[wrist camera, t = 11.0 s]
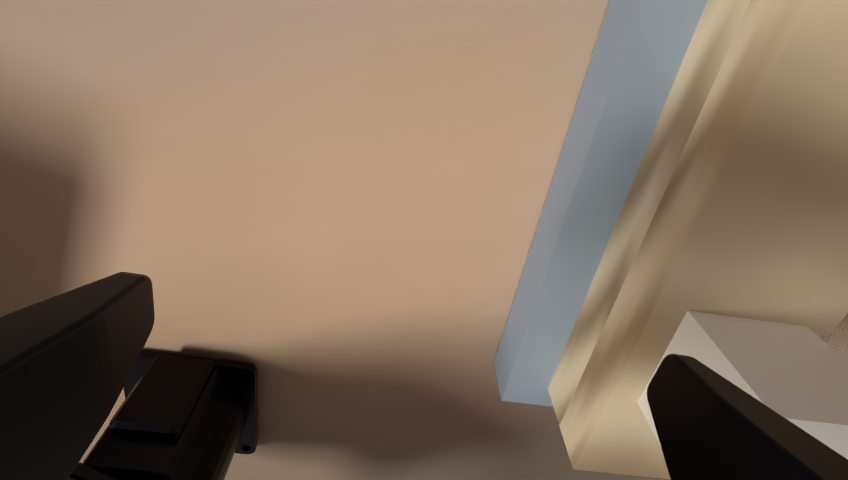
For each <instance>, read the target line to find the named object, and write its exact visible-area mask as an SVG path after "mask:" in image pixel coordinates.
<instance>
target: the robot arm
mask: <svg viewBox="0 0 848 480" xmlns="http://www.w3.org/2000/svg"><path fill="white" fill-rule="evenodd" d="M153 324H154V303H153V289H152V282H151V279H150V278H149V277H148V276H146V275H141V274H135V273H128V272H120V273H117V274H114V275H111V276H109V277H106V278H103V279H100V280H98V281H95V282H92V283H90V284H87V285H84V286H82V287H79V288H76V289H74V290H71V291H68V292H66V293H63V294H60V295H58V296H55V297H52V298H50V299H47V300H44V301H42V302H39V303H36V304H34V305H31V306H28V307H26V308H23V309H20V310H18V311H15V312H12V313H10V314H7V315H4V316H1V317H0V480H224V478H225V476H226V473H227V471H228V468H229V465H230V463H231V460H232V458H233V455H234V453H240V454H251V453H253V452H255V449H256V446H257V443H258V371H257V368H256V367H255V366H254V365H253V364H250V363H245V362H237V361H228V360H219V359H210V358H202V357H193V356H184V355H175V354H167V353H158V352H149V351H142V349H143V347H144V345H145V343H146V341H147V339H148V337H149V335H150V333H151V331H152V328H153ZM244 372H246V373H248V374H246V373H244ZM123 387H124V392H125V398H126V399H125V401H124V402H123V404H122V405H121V406H120V408H119V409H118V411H117V412H116V414H115V415H114V416H113V418H112V419H111V421H110V423H109V425H108V427H107V428H106V430H105V431H104V433H103V434H102V436H101V437H100V438H99V440H98V441H97V443H96V444H95V446H94V447H93V449H92V450H91V451H90V453H89V454H88V456H87V457H86V459H85V460H84V462H83V463H80V462H79V461H80V459H81V458H82V456H83V455H84V453H85V452H86V450H87V449H88V447H89V446H90V444H91V442H92V441H93V439H94V438H95V436H96V435H97V433H98V432H99V430H100V429H101V427H102V425H103V424H104V422H105V420H106V419H107V417H108V416H109V414H110V412H111V410H112V408H113V406H114V404H115V403H116V401H117V399H118V397H119V395H120V393H121V391H122V389H123ZM647 400H648V403H649V407H650V410H651V414H652V417H653V421H654V424H655V428H656V431H657V435H658V438H659V442H660V445H661V449H662V452H663V456H664V459H665V462H666V466H667V469H668V472H669V475H670V479H671V480H848V459H846V458H845V457H843V456H842V455H840V454H839V453H837V452H836V451H834V450H833V449H831V448H830V447H828V446H827V445H825V444H824V443H822V442H821V441H819V440H818V439H816V438H814V437H813V436H811V435H810V434H808V433H807V432H805V431H804V430H802V429H801V428H799V427H798V426H796V425H795V424H793V423H792V422H790V421H789V420H787V419H786V418H784V417H783V416H781V415H780V414H778V413H777V412H775V411H774V410H772V409H771V408H769V407H768V406H766V405H765V404H763V403H762V402H760V401H759V400H757V399H756V398H754V397H753V396H751V395H750V394H748V393H747V392H745V391H744V390H742V389H740V388H739V387H737V386H736V385H734V384H733V383H731V382H730V381H728V380H727V379H725V378H724V377H722V376H721V375H719V374H718V373H716V372H715V371H713V370H712V369H710V368H709V367H707V366H706V365H704V364H703V363H701V362H700V361H698V360H697V359H695V358H693V357H691V356H686V355H679V354H668V355H667V356H666V357H664V359H663V360H662V362H661V364H660V366H659V367H658V369H657V371H656V373H655V374H654V376H653V378H652V380H651V381H650V383H649V385H648V388H647Z"/></svg>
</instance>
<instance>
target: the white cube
mask: <svg viewBox="0 0 848 480" xmlns="http://www.w3.org/2000/svg"><path fill="white" fill-rule="evenodd" d="M668 354H679V355H686V356H691V357H693V358H695V359H697V360H698V361H700V362H701V363H703V364H704V365H706V366H707V367H709V368H710V369H712V370H713V371H715V372H716V373H718V374H719V375H721V376H722V377H724V378H725V379H727V380H728V381H730V382H731V383H733V384H734V385H736V386H737V387H739V388H740V389H742V390H744V391H745V392H747V393H748V394H750V395H751V396H753V397H754V398H756V399H757V400H759V401H760V402H762V403H763V404H765V405H766V406H768V407H769V408H771V409H772V410H774V411H775V412H777V413H778V414H780V415H781V416H783V417H784V418H786V419H787V420H789V421H790V422H792V423H793V424H795V425H796V426H798V427H799V428H801V429H802V430H804V431H805V432H807V433H808V434H810V435H811V436H813V437H814V438H816V439H818V440H819V441H821V442H822V443H824V444H825V445H827V446H828V447H830V448H831V449H833V450H834V451H836V452H837V453H839V454H840V455H842V456H843V457H845V458H846V459H848V362H847V361H845V360H844V359H843V358H842V357H841V356H840V355H839V354H838V353H836V352H835V351H834V350H833V349H832V348H831V347H830V346H829V345H827V344H826V343H825V342H824V341H823V340H822V339H821V338H820V337H819V336H817V335H816V334H815V333H814V332H813V331H812V330H811V329H810V328H808V327H807V326H800V325H792V324H785V323H778V322H770V321H763V320H755V319H748V318H740V317H733V316H725V315H718V314H710V313H703V312H696V311H687V312H686V314H685V316H684V318H683V320H682V322H681V323H680V325H679V327H678V329H677V331H676V333H675V334H674V336H673V338H672V340H671V342H670V344H669V346H668V347H667V349H666V351H665V353H664V355H663V357H662V358H661V360H660V362H659V364H658V366H657V368H656V369H655V371H654V373H653V375H652V377H651V379H650V380H649V382H648V384H647V386H646V388H645V390H644V391H643V393H642V395H641V397H640V399H639V401H638V404H639V406H640V408H641V410H642V412H643V414H644V416H645V417H646V419H647V421H648V423H649V425H650V427H651V429H652V431H653V433H654V435H655V437H656V439H657V441H658V442H659V438H658V435H657V431H656V428H655V424H654V421H653V417H652V414H651V410H650V407H649V403H648V400H647V388H648V385H649V383H650V381H651V380H652V378H653V376H654V374H655V373H656V371H657V369H658V367H659V366H660V364H661V362H662V360H663V359H664V357H666V356H667V355H668ZM659 444H660V442H659ZM660 446H661V445H660Z"/></svg>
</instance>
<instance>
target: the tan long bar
mask: <svg viewBox="0 0 848 480" xmlns="http://www.w3.org/2000/svg"><path fill="white" fill-rule="evenodd" d="M687 311H696V312H703V313H710V314H718V315H725V316H733V317H740V318H748V319H755V320H763V321H770V322H778V323H785V324H792V325H800V326H807V327H808V328H810V329H811V330H812V331H813V332H814V333H815V334H816V335H817V336H819V337H820V338H821V339H822V340H823V341H824V342H825V343H826V341H827V340H828V339H829V337H830V336H831V335H832V333H833V332H834V331H835V329H836V328H837V327H838V325H839V324H840V323H841V322H842V320H843V319H844V318H845V316H846V315H847V314H848V0H707V3H706V5H705V8H704V10H703V13H702V15H701V17H700V20H699V22H698V25H697V27H696V30H695V32H694V34H693V37H692V39H691V42H690V44H689V47H688V49H687V52H686V54H685V56H684V59H683V61H682V64H681V66H680V69H679V71H678V73H677V76H676V78H675V81H674V83H673V86H672V88H671V91H670V93H669V95H668V98H667V100H666V103H665V105H664V108H663V110H662V112H661V115H660V117H659V120H658V122H657V125H656V127H655V130H654V132H653V134H652V137H651V139H650V142H649V144H648V147H647V149H646V151H645V154H644V156H643V159H642V161H641V164H640V166H639V169H638V171H637V173H636V176H635V178H634V181H633V183H632V186H631V188H630V190H629V193H628V195H627V198H626V200H625V203H624V205H623V208H622V210H621V212H620V215H619V217H618V220H617V222H616V225H615V227H614V229H613V232H612V234H611V237H610V239H609V242H608V244H607V247H606V249H605V251H604V254H603V256H602V259H601V261H600V264H599V266H598V268H597V271H596V273H595V276H594V278H593V281H592V283H591V286H590V288H589V290H588V293H587V295H586V298H585V300H584V303H583V305H582V307H581V310H580V312H579V315H578V317H577V320H576V322H575V325H574V327H573V329H572V332H571V334H570V337H569V339H568V342H567V344H566V346H565V349H564V351H563V354H562V356H561V359H560V361H559V364H558V366H557V368H556V371H555V373H554V376H553V378H552V381H551V383H550V385H549V388H548V392H549V395H550V398H551V401H552V404H553V408H554V411H555V414H556V417H557V420H558V423H559V426H560V430H561V433H562V436H563V439H564V442H565V445H566V448H567V452H568V455H569V458H570V461H571V464H572V467H573V469H574V470H584V471H594V472H604V473H614V474H624V475H633V476H643V477H653V478H663V479H670V475H669V472H668V469H667V466H666V462H665V459H664V456H663V452H662V449H661V446H660V444H659V442H658V441H657V439H656V437H655V435H654V433H653V431H652V429H651V427H650V425H649V423H648V421H647V419H646V417H645V416H644V414H643V412H642V410H641V408H640V406H639V404H638V401H639V399H640V397H641V395H642V393H643V391H644V390H645V388H646V386H647V384H648V382H649V380H650V379H651V377H652V375H653V373H654V371H655V369H656V368H657V366H658V364H659V362H660V360H661V358H662V357H663V355H664V353H665V351H666V349H667V347H668V346H669V344H670V342H671V340H672V338H673V336H674V334H675V333H676V331H677V329H678V327H679V325H680V323H681V322H682V320H683V318H684V316H685V314H686V312H687Z"/></svg>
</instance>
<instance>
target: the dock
mask: <svg viewBox="0 0 848 480" xmlns="http://www.w3.org/2000/svg"><path fill="white" fill-rule="evenodd" d="M706 3H707V0H610V1H609V4H608V7H607V11H606V14H605V17H604V20H603V23H602V26H601V29H600V32H599V35H598V39H597V42H596V45H595V48H594V51H593V54H592V57H591V60H590V64H589V67H588V70H587V73H586V76H585V79H584V82H583V85H582V88H581V92H580V95H579V98H578V101H577V104H576V107H575V110H574V113H573V117H572V120H571V123H570V126H569V129H568V132H567V135H566V138H565V141H564V145H563V148H562V151H561V154H560V157H559V160H558V163H557V166H556V170H555V173H554V176H553V179H552V182H551V185H550V188H549V191H548V194H547V198H546V201H545V204H544V207H543V210H542V213H541V216H540V219H539V223H538V226H537V229H536V232H535V235H534V238H533V241H532V244H531V247H530V251H529V254H528V257H527V260H526V263H525V266H524V269H523V272H522V276H521V279H520V282H519V285H518V288H517V291H516V294H515V297H514V300H513V304H512V307H511V310H510V313H509V316H508V319H507V322H506V325H505V329H504V332H503V335H502V338H501V341H500V344H499V347H498V350H497V354H496V357H495V360H494V367H495V372H496V377H497V382H498V387H499V392H500V397H501V401H506V402H515V403H524V404H533V405H542V406H551V407H553V404H552V401H551V398H550V395H549V392H548V388H549V385H550V383H551V381H552V378H553V376H554V373H555V371H556V368H557V366H558V364H559V361H560V359H561V356H562V354H563V351H564V349H565V346H566V344H567V342H568V339H569V337H570V334H571V332H572V329H573V327H574V325H575V322H576V320H577V317H578V315H579V312H580V310H581V307H582V305H583V303H584V300H585V298H586V295H587V293H588V290H589V288H590V286H591V283H592V281H593V278H594V276H595V273H596V271H597V268H598V266H599V264H600V261H601V259H602V256H603V254H604V251H605V249H606V247H607V244H608V242H609V239H610V237H611V234H612V232H613V229H614V227H615V225H616V222H617V220H618V217H619V215H620V212H621V210H622V208H623V205H624V203H625V200H626V198H627V195H628V193H629V190H630V188H631V186H632V183H633V181H634V178H635V176H636V173H637V171H638V169H639V166H640V164H641V161H642V159H643V156H644V154H645V151H646V149H647V147H648V144H649V142H650V139H651V137H652V134H653V132H654V130H655V127H656V125H657V122H658V120H659V117H660V115H661V112H662V110H663V108H664V105H665V103H666V100H667V98H668V95H669V93H670V91H671V88H672V86H673V83H674V81H675V78H676V76H677V73H678V71H679V69H680V66H681V64H682V61H683V59H684V56H685V54H686V52H687V49H688V47H689V44H690V42H691V39H692V37H693V34H694V32H695V30H696V27H697V25H698V22H699V20H700V17H701V15H702V13H703V10H704V8H705V5H706Z"/></svg>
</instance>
